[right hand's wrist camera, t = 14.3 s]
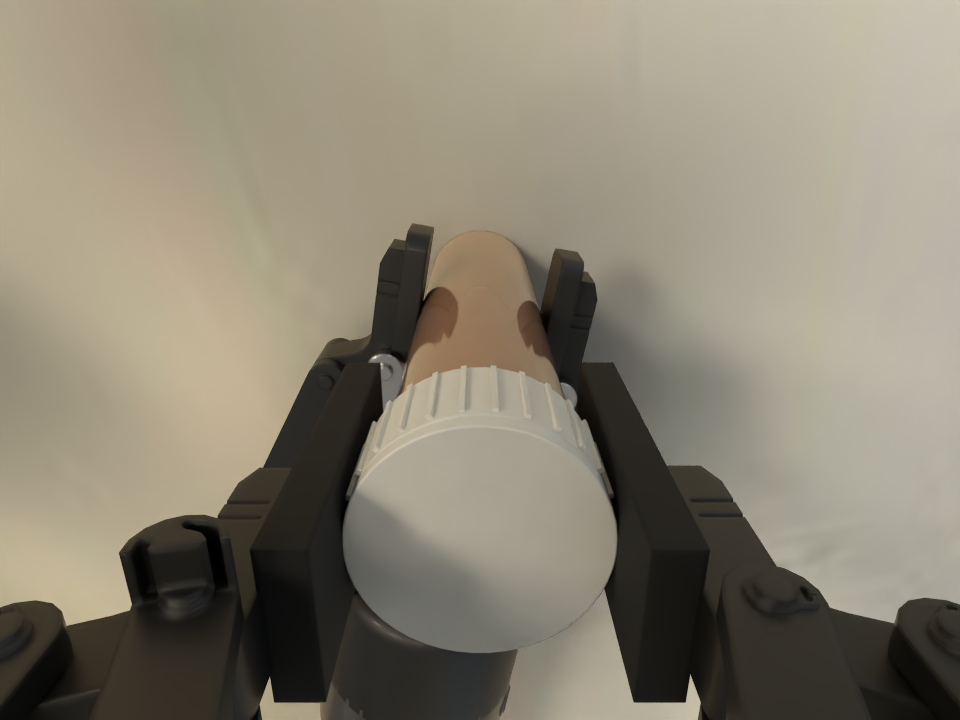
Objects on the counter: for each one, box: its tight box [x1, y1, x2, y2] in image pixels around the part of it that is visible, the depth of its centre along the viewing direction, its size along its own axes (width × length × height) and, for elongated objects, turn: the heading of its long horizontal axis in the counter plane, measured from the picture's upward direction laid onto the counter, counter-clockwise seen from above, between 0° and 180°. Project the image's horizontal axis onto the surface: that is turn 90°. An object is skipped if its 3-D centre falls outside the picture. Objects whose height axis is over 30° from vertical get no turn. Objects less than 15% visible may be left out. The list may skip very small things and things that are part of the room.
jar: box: [395, 231, 565, 400], centre depth 19 cm, size 4×4×17 cm
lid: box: [342, 365, 618, 653], centre depth 11 cm, size 5×5×2 cm
